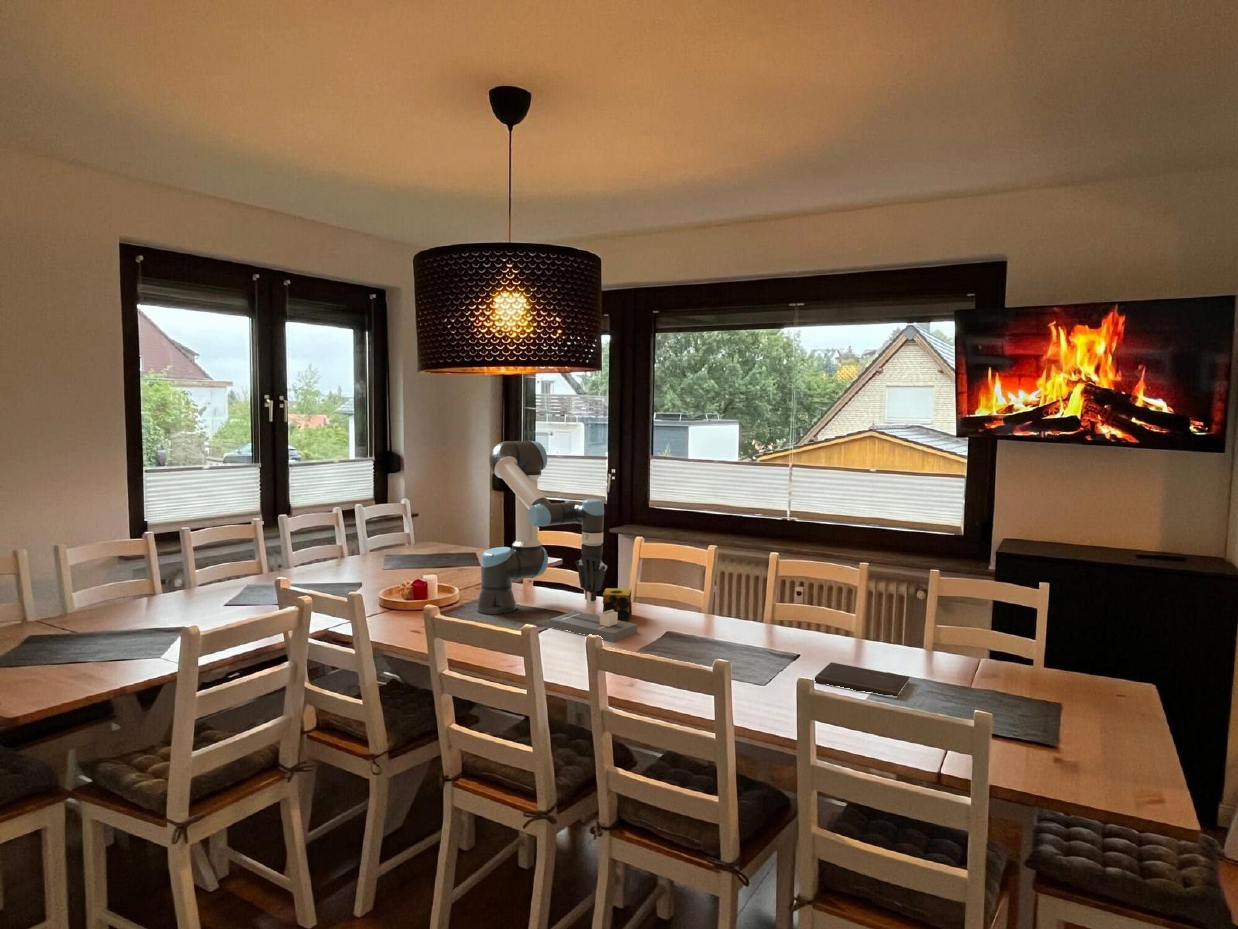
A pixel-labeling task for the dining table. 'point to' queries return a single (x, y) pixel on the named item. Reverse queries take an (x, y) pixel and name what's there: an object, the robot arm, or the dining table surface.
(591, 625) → the fader board
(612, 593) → the candle
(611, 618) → the fader tab
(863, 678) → the hardcover book
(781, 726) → the dining table surface
